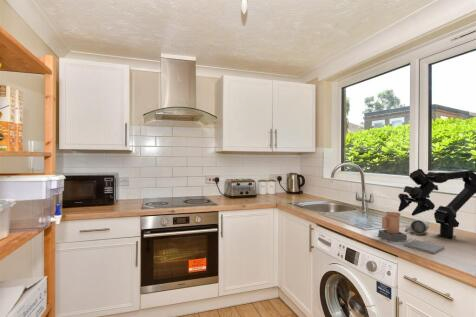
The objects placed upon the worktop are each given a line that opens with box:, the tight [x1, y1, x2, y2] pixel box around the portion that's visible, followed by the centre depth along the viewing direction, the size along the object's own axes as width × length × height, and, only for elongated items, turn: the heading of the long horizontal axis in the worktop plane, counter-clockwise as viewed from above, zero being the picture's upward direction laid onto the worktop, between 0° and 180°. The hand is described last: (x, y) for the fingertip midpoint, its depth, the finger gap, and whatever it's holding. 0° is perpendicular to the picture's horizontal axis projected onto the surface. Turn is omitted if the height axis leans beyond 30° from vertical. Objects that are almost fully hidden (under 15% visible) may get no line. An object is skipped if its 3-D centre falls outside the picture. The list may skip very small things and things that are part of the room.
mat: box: [403, 239, 445, 255], centre depth 123 cm, size 12×12×1 cm
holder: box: [378, 229, 408, 242], centre depth 136 cm, size 9×9×3 cm
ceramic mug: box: [405, 218, 429, 235], centre depth 148 cm, size 11×8×8 cm
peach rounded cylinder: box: [381, 211, 401, 235], centre depth 136 cm, size 8×7×13 cm
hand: (405, 213), depth 137 cm, fingers open, 9 cm apart
